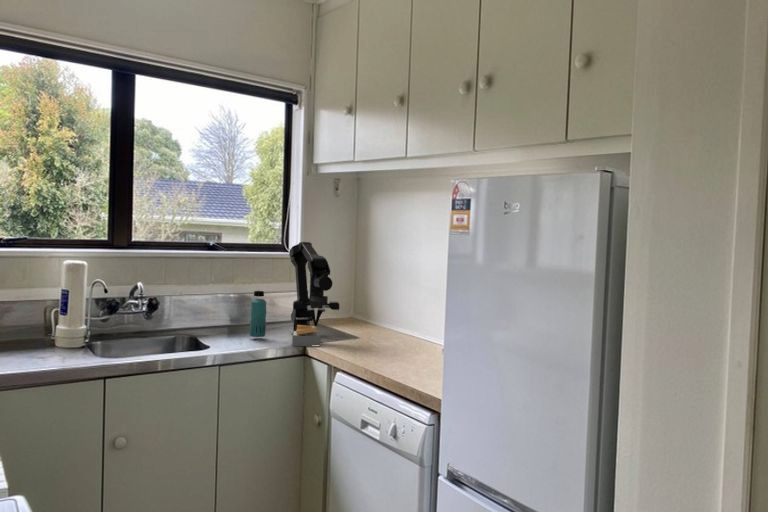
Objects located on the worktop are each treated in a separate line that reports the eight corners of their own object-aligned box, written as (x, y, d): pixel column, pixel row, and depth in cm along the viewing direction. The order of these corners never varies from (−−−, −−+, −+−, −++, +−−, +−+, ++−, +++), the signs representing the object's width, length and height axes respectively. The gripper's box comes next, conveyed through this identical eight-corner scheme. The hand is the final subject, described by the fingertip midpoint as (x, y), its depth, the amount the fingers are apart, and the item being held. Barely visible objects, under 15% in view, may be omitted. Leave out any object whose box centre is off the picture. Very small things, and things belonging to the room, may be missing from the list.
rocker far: (296, 329, 233) (297, 326, 233) (296, 328, 237) (297, 324, 237) (316, 331, 234) (316, 327, 234) (316, 329, 238) (316, 326, 238)
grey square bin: (292, 345, 227) (292, 333, 226) (292, 340, 238) (293, 329, 237) (320, 346, 228) (320, 334, 228) (319, 341, 239) (320, 329, 239)
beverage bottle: (254, 341, 232) (256, 291, 231) (246, 338, 237) (248, 290, 236) (268, 339, 237) (270, 291, 236) (260, 337, 242) (262, 289, 241)
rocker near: (297, 334, 228) (296, 330, 228) (297, 333, 231) (296, 329, 231) (317, 331, 229) (316, 327, 229) (316, 329, 232) (316, 325, 232)
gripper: (293, 289, 226) (292, 329, 227) (340, 290, 229) (339, 329, 229) (293, 287, 237) (292, 324, 238) (339, 288, 240) (337, 325, 240)
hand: (315, 326), depth 236 cm, fingers closed
